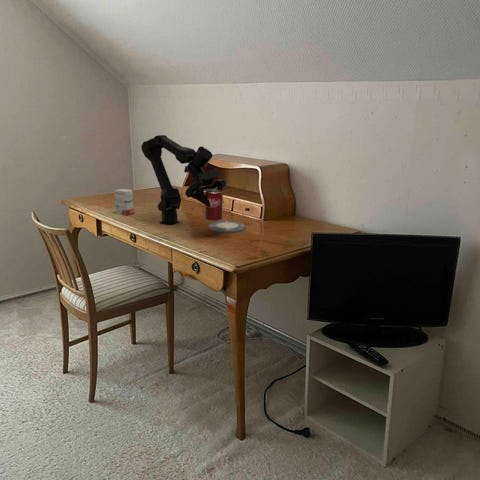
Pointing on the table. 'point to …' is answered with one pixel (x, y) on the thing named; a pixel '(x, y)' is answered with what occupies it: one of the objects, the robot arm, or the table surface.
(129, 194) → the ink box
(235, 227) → the dial plate
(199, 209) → the table surface
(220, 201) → the soda can
